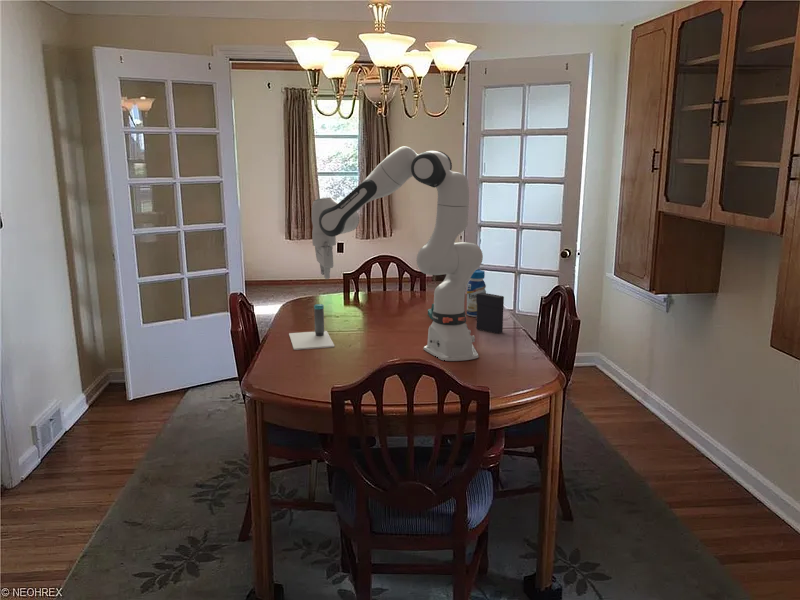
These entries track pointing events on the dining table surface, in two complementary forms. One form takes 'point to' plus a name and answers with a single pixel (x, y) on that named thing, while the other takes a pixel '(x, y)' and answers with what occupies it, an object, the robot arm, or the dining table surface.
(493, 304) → the upright charcoal panel
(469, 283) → the beverage bottle
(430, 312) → the bracket
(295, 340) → the paper
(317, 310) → the marker
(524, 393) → the dining table surface
